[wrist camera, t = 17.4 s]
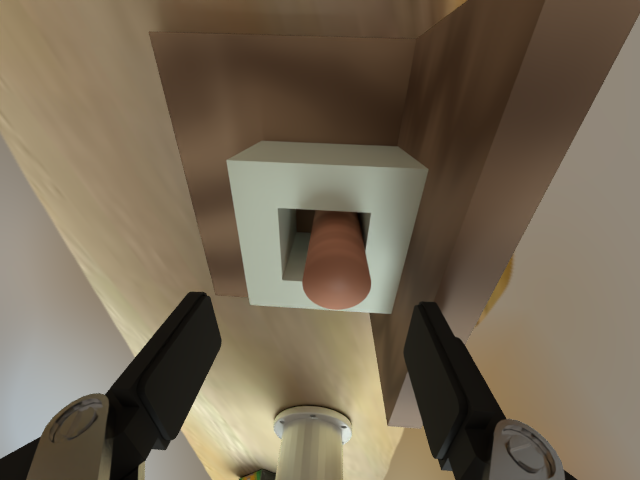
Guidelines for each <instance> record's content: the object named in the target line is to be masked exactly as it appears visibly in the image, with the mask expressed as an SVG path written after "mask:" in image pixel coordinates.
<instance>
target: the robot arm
mask: <svg viewBox="0 0 640 480" xmlns="http://www.w3.org/2000/svg"><path fill="white" fill-rule="evenodd" d="M220 347H221V336H220V332H219V328H218V325H217V321H216V317H215V313H214V310H213V306H212V302H211V298H210V297H209V296H207V295H206V293H205V292H189V293H188V294H187V295H186V296H185V298H184V299H183V300H182V301H181V302H180V304H179V305H178V306H177V307H176V309H175V310H174V311H173V312H172V313H171V315H170V316H169V317H168V318H167V319H166V321H165V322H164V323H163V324H162V326H161V327H160V328H159V329H158V330H157V332H156V333H155V334H154V335H153V337H152V338H151V339H150V340H149V341H148V343H147V344H146V345H145V346H144V347H143V349H142V350H141V351H140V352H139V354H138V355H137V356H136V357H135V359H134V360H133V361H132V362H131V363H130V365H129V366H128V367H127V368H126V370H125V371H124V372H123V373H122V374H121V376H120V377H119V378H118V379H117V380H116V382H115V383H114V384H113V385H112V386H111V388H110V390H108V392H107V393H106V394H105V395H104V394H100V393H98V394H97V393H96V394H90V395H86V396H83V397H81V398H79V399H77V400H75V401H73V402H71V403H70V404H69V405H67V406H66V407H64V408H63V409H62V410H61V411H59V412H58V413H57V414H56V415H55V416H54V417H53V418H52V419H51V421H50V422H49V423H48V424H47V426H46V427H45V429H44V431H43V433H42V435H41V437H39V438H37V439H36V440H34V441H32V442H30V443H28V444H27V445H25V446H23V447H21V448H19V449H17V450H16V451H14V452H12V453H10V454H8V455H7V456H5V457H3V458H1V459H0V480H144V478H145V477H144V476H145V460H146V458H147V457H148V455H149V453H150V451H151V449H158V450H166V449H167V447H168V445H169V443H170V441H171V440H173V439H175V438H176V436H177V435H178V433H179V431H180V429H181V427H182V425H183V423H184V421H185V419H186V417H187V415H188V413H189V411H190V409H191V407H192V405H193V403H194V401H195V399H196V396H197V394H198V392H199V390H200V388H201V386H202V384H203V382H204V380H205V378H206V376H207V374H208V372H209V370H210V368H211V366H212V364H213V362H214V360H215V358H216V356H217V354H218V352H219V350H220ZM403 354H404V360H405V363H406V367H407V370H408V374H409V377H410V381H411V384H412V387H413V391H414V394H415V398H416V401H417V405H418V408H419V412H420V415H421V419H422V422H423V426H424V429H425V433H426V436H427V439H428V443H429V447H430V450H431V453H432V455H433V457H434V458H435V459H438V461H439V464H440V467H441V470H447V471H453V474H454V476H455V479H456V480H577V479H576V478H574V477H573V476H572V475H570V474H569V473H568V472H566V471H565V470H564V469H563V466H562V462H561V460H560V458H559V456H558V455H557V453H556V451H555V450H554V449H553V447H552V446H551V445H550V444H549V442H548V441H547V440H546V439H545V438H544V437H543V436H541V434H539V433H538V432H537V431H536V430H534V429H533V428H531V427H530V426H528V425H526V424H524V423H522V422H520V421H517V420H512V419H506V417H505V415H504V414H503V412H502V410H501V408H500V407H499V405H498V403H497V401H496V399H495V398H494V396H493V394H492V393H491V391H490V389H489V387H488V385H487V384H486V382H485V380H484V378H483V377H482V375H481V373H480V371H479V370H478V368H477V366H476V365H475V362H474V361H473V359H472V357H471V355H470V354H469V352H468V350H467V348H466V346H465V345H464V343H463V342H462V340H461V339H460V338H458V337H455V336H454V334H453V332H452V330H451V328H450V327H449V325H448V323H447V321H446V319H445V317H444V316H443V314H442V312H441V310H440V308H439V306H438V305H437V303H436V302H423V301H421V302H419V305H415V306H414V309H413V313H412V317H411V321H410V325H409V329H408V333H407V337H406V341H405V345H404V350H403ZM274 431H275V433H276V435H277V436H278V437H279V438H280V439H282V440H281V446H280V453H279V459H278V465H277V471H276V478H275V480H343V447H342V445H343V444H345V443H346V442H348V441H349V440H350V438H351V436H352V426H351V423H350V421H349V420H348V419H347V418H346V417H345V416H344V415H342V414H340V413H338V412H336V411H334V410H331V409H328V408H323V407H317V406H298V407H293V408H289V409H286V410H284V411H282V412H281V413H279V414H278V415H277V417H276V419H275V422H274Z"/></svg>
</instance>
